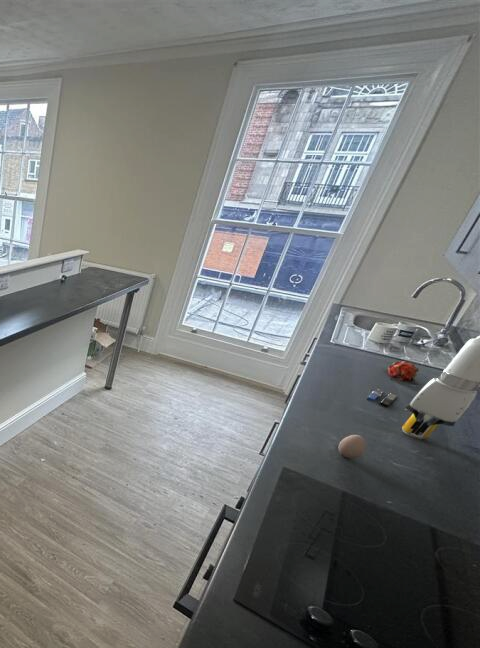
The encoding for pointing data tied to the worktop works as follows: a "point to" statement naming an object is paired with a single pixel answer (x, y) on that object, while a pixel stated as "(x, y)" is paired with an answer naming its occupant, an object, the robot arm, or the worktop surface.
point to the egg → (352, 446)
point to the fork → (375, 395)
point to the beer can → (411, 421)
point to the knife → (388, 400)
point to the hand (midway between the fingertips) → (414, 432)
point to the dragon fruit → (403, 371)
